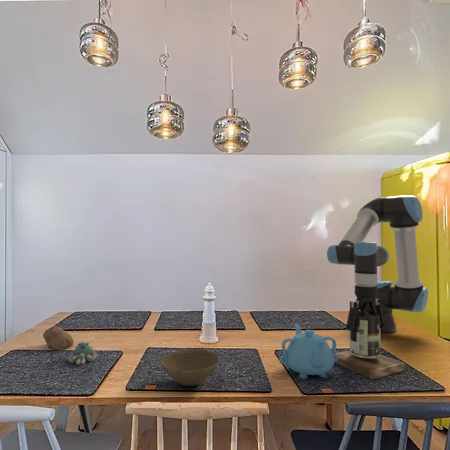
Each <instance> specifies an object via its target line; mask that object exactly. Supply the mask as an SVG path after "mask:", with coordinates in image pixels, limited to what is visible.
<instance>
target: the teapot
mask: <svg viewBox="0 0 450 450" xmlns="http://www.w3.org/2000/svg"><path fill="white" fill-rule="evenodd" d="M294 327H295V335H294V336H293V338H291V337H289V338H288V337H287V338H286V339H284V340H283V341H282V342H281V349H282V355H281V356H280V357H279V362H280V363H281V364H283V365H286V364H287V366H288V367H289V368H290V369H291V370H292V371H293V372H296V373H298V378H299V379H301V378H302V380H306V378H307V379H308V375H309V376H310V375H311V376H316V375H317V376H318V377H320V378H321V379H323V378H325V379H326V378H328V375H327V373H328V372H329V371H330V370H332V368H333V367H334V364H335V363H334V362H336V361H337V360H338V355H337V354H336V353H335V352H336V348H337V340H335V338H333V337H331V336H323V335H320V334H319V333H315V330H312V329H305V330H304V332H302V329H301V327H300V324H298V323H294ZM327 341H331V342H332V346H331V347H330V345H329V344H328V342H327ZM288 342H289V344H288V346H287V348H286V344H287V343H288ZM334 356H336V357H335V358H333V357H334ZM283 358H284V359H283Z"/></svg>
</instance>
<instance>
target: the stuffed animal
mask: <svg viewBox="0 0 450 450" xmlns="http://www.w3.org/2000/svg"><path fill="white" fill-rule="evenodd" d="M98 356H99V354H98V352H97V351H95V350H94V349H93V347H92V344H91V343H90V342H88V341H87V342H84V341H82V342H79V343H78V344H77V345H75V348H74V350H73V352H71V353H70V354H68V355H67V357H66V359H67V361H68V362H69V363H71V364H76V365H78V366H79V365H80V364H81V365H84V364H86V362H87V363H91V362H95V360H96V359H97V357H98Z"/></svg>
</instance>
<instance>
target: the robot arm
mask: <svg viewBox="0 0 450 450" xmlns="http://www.w3.org/2000/svg"><path fill="white" fill-rule="evenodd" d="M422 220H423V207H422V203H421V200H420V199H419V197H417V196H416V195H395V196H380V197H377V198H374V199H372V200H371V201H368V202H367V203H366V204H364V205H363V206H362V208H360V209H359V210H358V212H357V213H356V218H355V220H354V222H353V223H352V224H351V226H350V227H349V229H348V230H347V232H346V233H345V234H344V236H343V238H342V239H341V240H340V242H339V243H338V244H333V245H330V246H328V247H327V251H326V258H327V260H328V262H329V263H330V264H334V265H346V266H348V265H349V266H354V284H355V285H354V295H355V297H356V300H355V301H353V300H352V301H349V311H348V316H347V321H346V324H345V325H346V326H345V329H346V331H351V341H352V350H355V351H357V352H359V332H357V331H358V329H359V326H360V319H356V316H360V317H361V316H362V317H363V315H365V313H366V312H369V314H374V315H376V314H379V315H380V318H379V326H380V327H379V329H380V337H381V336H382V334H384V333H386V334H390V333H395V332H397V328H398V327H397V323H396V321H395V318H394V315H393V310H396V311H403V312H411V313H423V312H425V309H426V307H427V303H428V297H429V289H428V288H427V287H425V286H424V283H423V281H422V280H420V279H419V278H420V277H419V266H418V253H417V252H418V251H417V237H416V229H417V227H418V226H419V223H420V222H422ZM379 223H389V227H390V229H392V230H393V234H394V247H395V249H394V250H395V258H396V270H397V271H396V273H397V280H396V281H395V282H394V284H393V282H392V281H391V280H378V267H382V266H384V265H385V264H387V262H388V261H389V259H390V254H389V251H388V249H386V248H385V247H383V246H380V245H377V242H376V241H365V239H366V238H367V236H368V234H369V233H370V232H371V230H372V228H374V227H376V225H377V224H379ZM354 327H355V328H354Z"/></svg>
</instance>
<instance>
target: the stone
mask: <svg viewBox="0 0 450 450" xmlns="http://www.w3.org/2000/svg"><path fill="white" fill-rule="evenodd" d="M42 336H43V339H44V341H45V343H46V346H47V347H48V348H52V349H53V350H56V351H61V350H65V349H69V348H70V347H72V346H73V345H74V339H73V337H72V335H71V334H69V332H66V330H64V329H63V328H61V327H60V326H59V327H58V326H56V325H53V326H52V327H49V328H48V329H46V330H44V332H43V333H42Z"/></svg>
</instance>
